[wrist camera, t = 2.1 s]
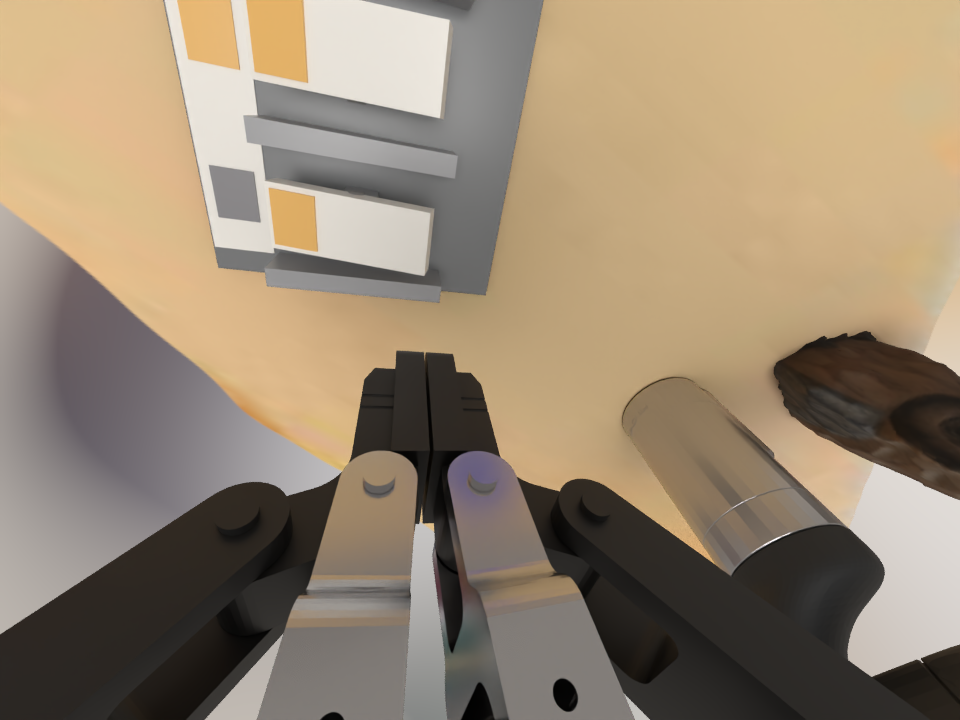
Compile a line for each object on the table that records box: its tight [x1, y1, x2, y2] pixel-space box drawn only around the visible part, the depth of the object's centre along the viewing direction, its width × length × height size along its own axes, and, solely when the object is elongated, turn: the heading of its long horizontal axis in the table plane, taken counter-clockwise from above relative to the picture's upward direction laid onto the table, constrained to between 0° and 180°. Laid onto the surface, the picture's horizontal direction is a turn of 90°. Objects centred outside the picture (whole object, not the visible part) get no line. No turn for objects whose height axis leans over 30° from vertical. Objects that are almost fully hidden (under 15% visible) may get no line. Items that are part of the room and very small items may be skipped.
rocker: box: [264, 178, 434, 276], centre depth 22 cm, size 9×4×2 cm, turn 80°
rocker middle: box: [241, 0, 453, 119], centre depth 17 cm, size 9×4×2 cm, turn 80°
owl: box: [774, 331, 960, 500], centre depth 34 cm, size 13×13×20 cm
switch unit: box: [163, 0, 543, 303], centre depth 20 cm, size 19×26×4 cm
